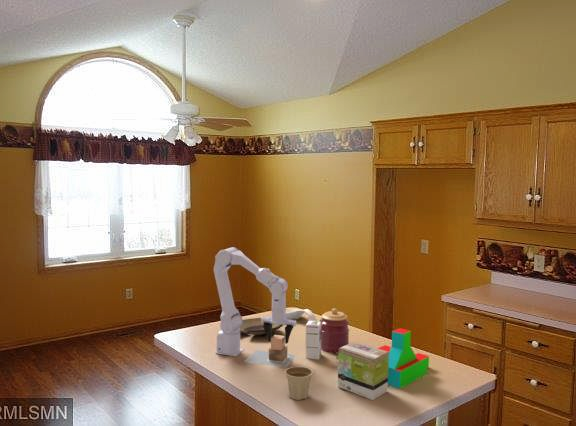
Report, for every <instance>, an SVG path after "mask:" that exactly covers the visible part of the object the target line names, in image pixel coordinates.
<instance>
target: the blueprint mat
mask: <svg viewBox="0 0 576 426" xmlns="http://www.w3.org/2000/svg"><path fill="white" fill-rule="evenodd" d="M296 356H297V354H290V353H287V358H286V359H285V360H284V361H283V362H280V361H272V360H269V351H266V350H257V349H255V350H254V351H253V352H252V353H251V354H250V355H249V356H248V357H247V358H246V359H245V360H244V361H243V363H250V364H257V365H264V366H271V367H272V366H273V367H280V368H281V367H282V368H287V367H288V366H289V365H290V364H291V362H292V361H294V359H295V358H296Z"/></svg>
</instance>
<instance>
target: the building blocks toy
mask: <svg viewBox="0 0 576 426" xmlns="http://www.w3.org/2000/svg"><path fill="white" fill-rule="evenodd" d="M411 332H412V331H411V330H408V329H405V328H401V327H399V328H395V329H394V330H391V346H389V345H386V344H385V345H382V346H379V347H377V348H378V349H381V350H384V351H388V352H389V364H388V385H389V386H392V387H395V388H398V389H401V388H404V387H405V386H407V385H408V384H410V383H412V382H414V381H416V380H418V379H419V378H421V377H423V376H425V375H426V374H427V371H428V370H427V369H429V368H430V355H427V354H423V353H420V352H417V353H415V352H414V350H413V349H412V347H411V340H412V339H411V336H412V335H411V334H412V333H411Z"/></svg>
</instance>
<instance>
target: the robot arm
mask: <svg viewBox="0 0 576 426" xmlns="http://www.w3.org/2000/svg"><path fill="white" fill-rule="evenodd" d="M214 258H215V259H214V260H215V261H214V265H213V274H214V278H215V283H216V287H217V292H218V297H219V301H220V306H221V314H220V317H219V318H220V322H219V323H220V325H219V326H220V330H219V331H218V332H217V334H216V335H217V336H216V352H215V354H217V355H225V356H232V357H237V356H239V355H240V354H241V353H242V352H243V351H244V348H241V332H240V326H241V325H242V323H243V320H244V319H243V317H242V315H240V314H241V313H240V311H239V309H237V308H236V306H235V300H234V297H233V292H232V287H231V282H230V279H229V278H230V277H229V274H228V270H229V269H230V268H231V267H232V265H235V266H237V265H240V266H241V267H242V268H244V269H245V270H247V271H249V272H251V273H252V274H254V275H255V278H256V280H257V281H258V282H259V283H261V284H263V286H265V287H266V288H268V289H269V292H270V293H271V317H260V318H261V323H264V325H263V328H264V329H265V331H266V334H265V335H266V336H267V341H268V342H270V343H271V338H272V337H273V336H272V334H273V333H272V332H273V331H272V324H278V325H283V326H285V327H284V333H285V335H284V336H285V345H287V344H288V343H289V342H290V341H289V340H290V336H291V334H292V331H293V329H294V328H295V327H296V326H297V320H289V319H287V318H286V310H287V298H286V297H287V293H286V291H287V290H288V287H289V285H288V282H287V280H286V279H284V277H283V278H282V277H280V276H278V275H276V274H274V273H273V272H272V271H271V270H270V268H269V267H268V268H266V267H259V265H257V264H256V263H255V262H253V261H252V260H251V259H250V258H249V257H248V256H246V255H245V254H244V253H243V252H242V250H239V249H238V248H236V247H233V246H232V247H229V248H228V247H227V248H226V249H220V250H219V251H218V252H217V254H215V256H214Z"/></svg>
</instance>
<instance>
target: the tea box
mask: <svg viewBox="0 0 576 426" xmlns="http://www.w3.org/2000/svg"><path fill="white" fill-rule="evenodd" d="M378 348H379V347H377V348H376V347H374V346H370V345H367V344H364V343H361V342H357V341H351V342H349V344H347V345H345V346H343V347H341V348H339V353H338V362H337V387H338V388H340V389H344V390H346V391H348V392H351V393H354V394H356V395H358V396H361V397H364V398H366V399H368V400H371V401H374V400H375V399H378V398H379V397H381V396H382V395H383V394H385V393H387V392H388V385H389V384H388V364H389V352H388V351H384V350H381V349H378Z"/></svg>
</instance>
